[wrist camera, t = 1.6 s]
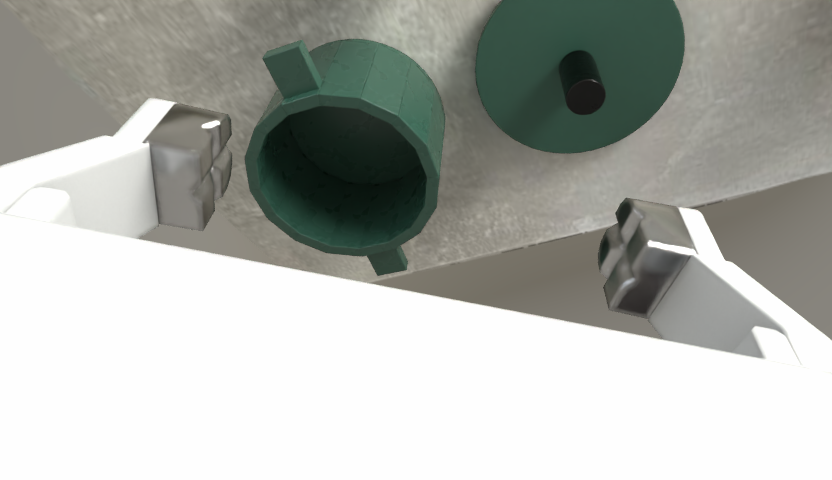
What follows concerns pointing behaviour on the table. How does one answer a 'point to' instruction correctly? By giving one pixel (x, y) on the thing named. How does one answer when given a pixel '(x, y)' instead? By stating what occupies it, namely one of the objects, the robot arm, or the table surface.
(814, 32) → the table surface
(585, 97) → the pot lid
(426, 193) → the pot
